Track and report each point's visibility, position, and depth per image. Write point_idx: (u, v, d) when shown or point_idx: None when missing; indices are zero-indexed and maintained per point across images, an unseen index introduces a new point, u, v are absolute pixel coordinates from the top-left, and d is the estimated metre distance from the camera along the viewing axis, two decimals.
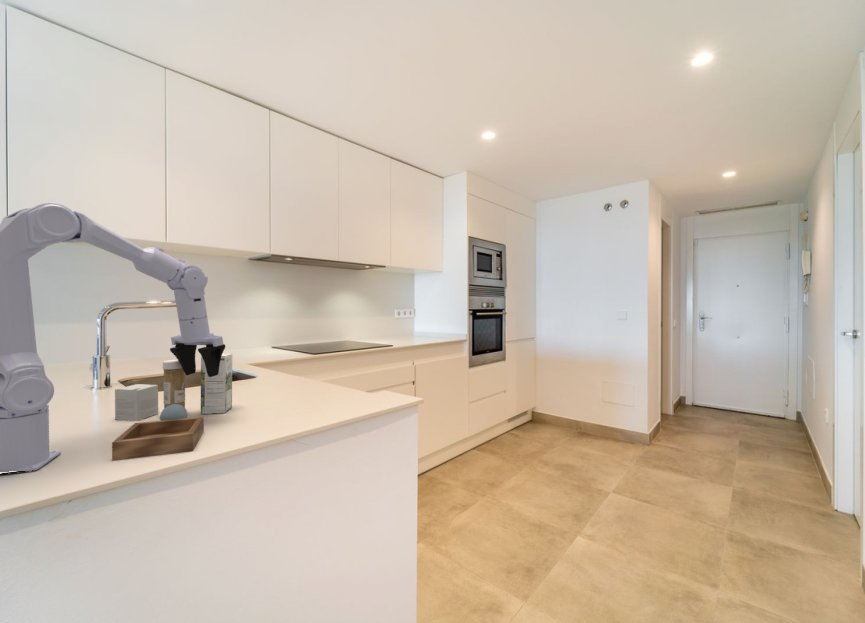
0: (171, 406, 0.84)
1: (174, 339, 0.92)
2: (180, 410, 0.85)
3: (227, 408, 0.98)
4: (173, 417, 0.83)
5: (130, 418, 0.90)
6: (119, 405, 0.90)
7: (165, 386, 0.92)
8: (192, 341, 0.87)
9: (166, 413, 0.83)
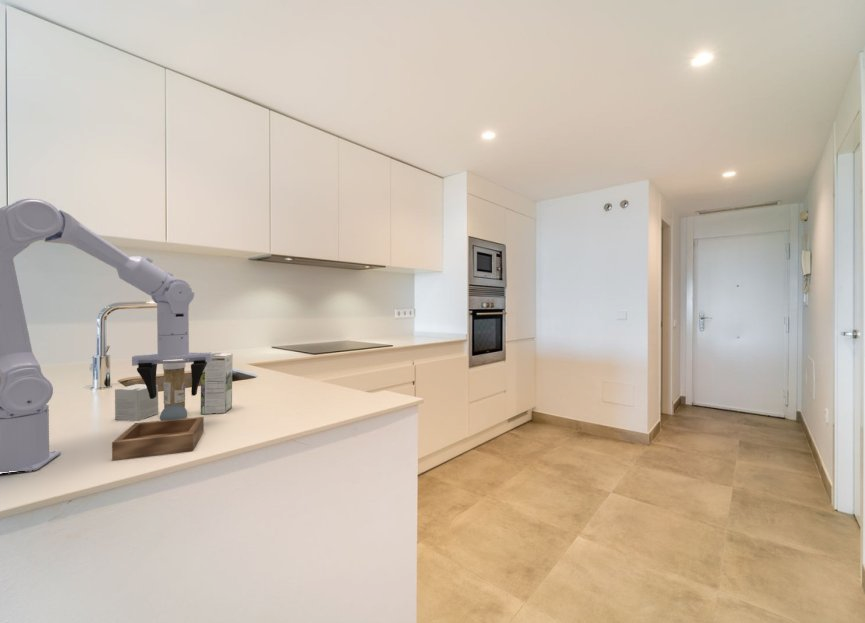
0: (171, 406, 0.84)
1: (140, 358, 0.82)
2: (180, 410, 0.85)
3: (227, 408, 0.98)
4: (173, 417, 0.83)
5: (130, 418, 0.90)
6: (119, 405, 0.90)
7: (165, 386, 0.92)
8: (181, 357, 0.84)
9: (166, 413, 0.83)
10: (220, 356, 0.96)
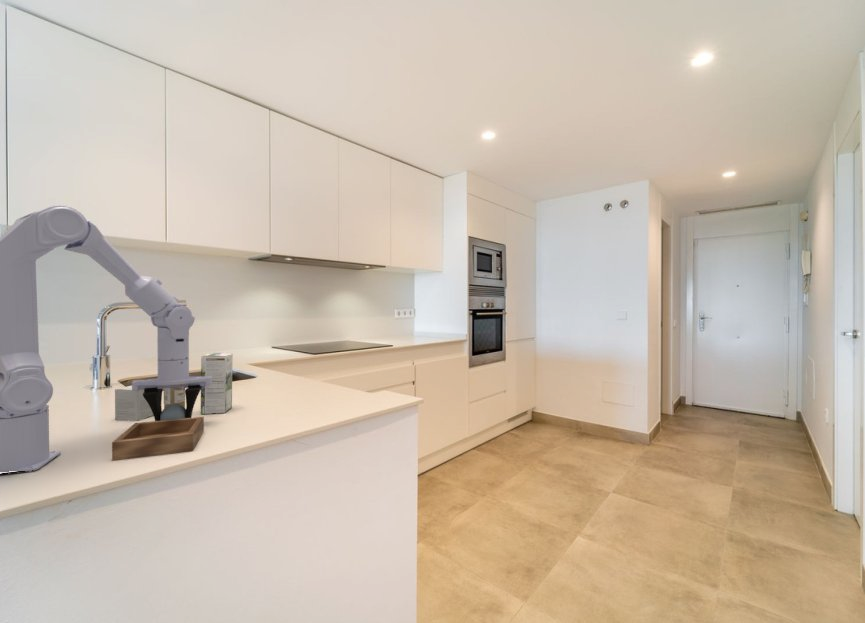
0: (171, 406, 0.84)
1: (140, 384, 0.82)
2: (180, 410, 0.85)
3: (227, 408, 0.98)
4: (173, 417, 0.83)
5: (130, 418, 0.90)
6: (119, 405, 0.90)
7: None
8: (181, 382, 0.84)
9: (166, 413, 0.83)
10: (220, 356, 0.96)
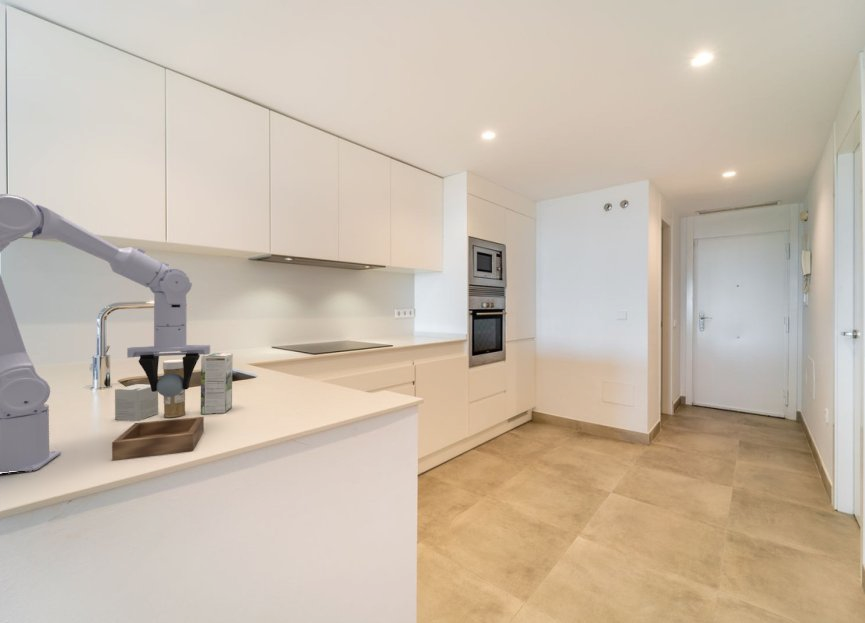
0: (168, 374, 0.82)
1: (135, 350, 0.79)
2: (177, 379, 0.82)
3: (227, 408, 0.98)
4: (170, 385, 0.81)
5: (130, 418, 0.90)
6: (119, 405, 0.90)
7: None
8: (179, 349, 0.81)
9: (162, 381, 0.80)
10: (220, 356, 0.96)
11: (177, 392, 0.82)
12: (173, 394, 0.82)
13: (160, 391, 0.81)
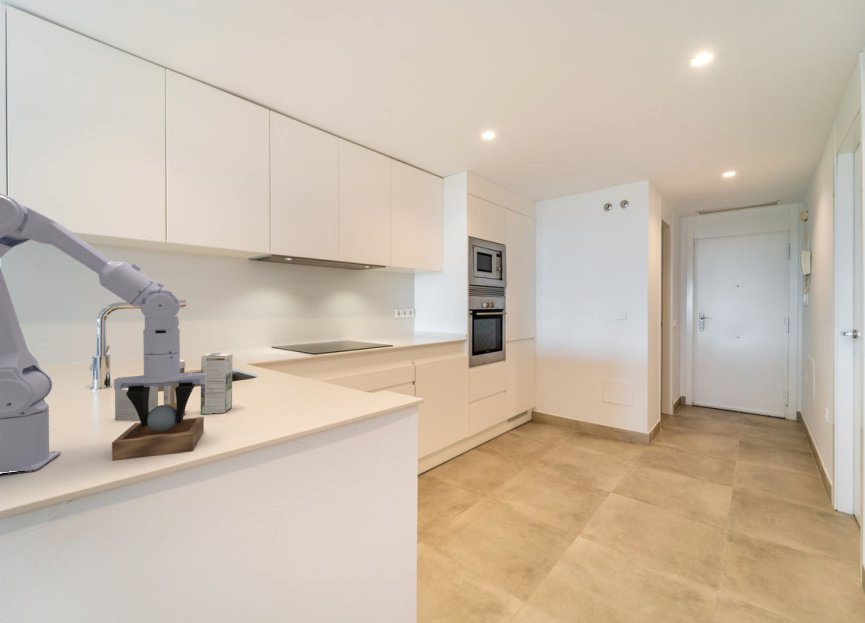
0: (159, 407, 0.74)
1: (123, 381, 0.71)
2: (170, 412, 0.74)
3: (227, 408, 0.98)
4: (162, 419, 0.73)
5: (130, 418, 0.90)
6: (119, 405, 0.90)
7: (165, 386, 0.92)
8: (171, 379, 0.73)
9: (153, 415, 0.73)
10: (220, 356, 0.96)
11: (170, 426, 0.74)
12: (165, 429, 0.74)
13: (151, 426, 0.73)
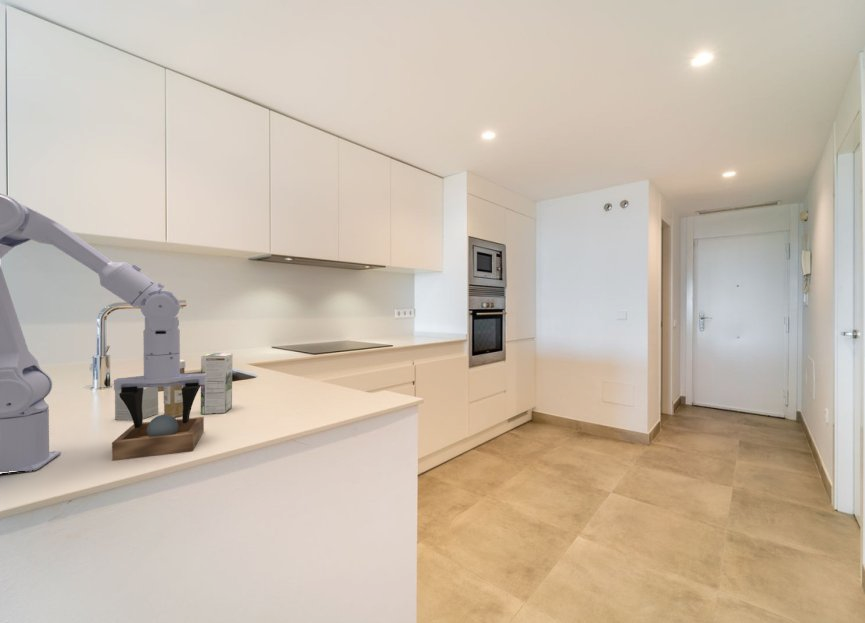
0: (159, 417, 0.74)
1: (123, 382, 0.71)
2: (170, 422, 0.74)
3: (227, 408, 0.98)
4: (162, 429, 0.73)
5: (130, 418, 0.90)
6: (119, 405, 0.90)
7: (165, 386, 0.92)
8: (171, 380, 0.73)
9: (153, 426, 0.73)
10: (220, 356, 0.96)
11: None
12: None
13: (151, 436, 0.73)
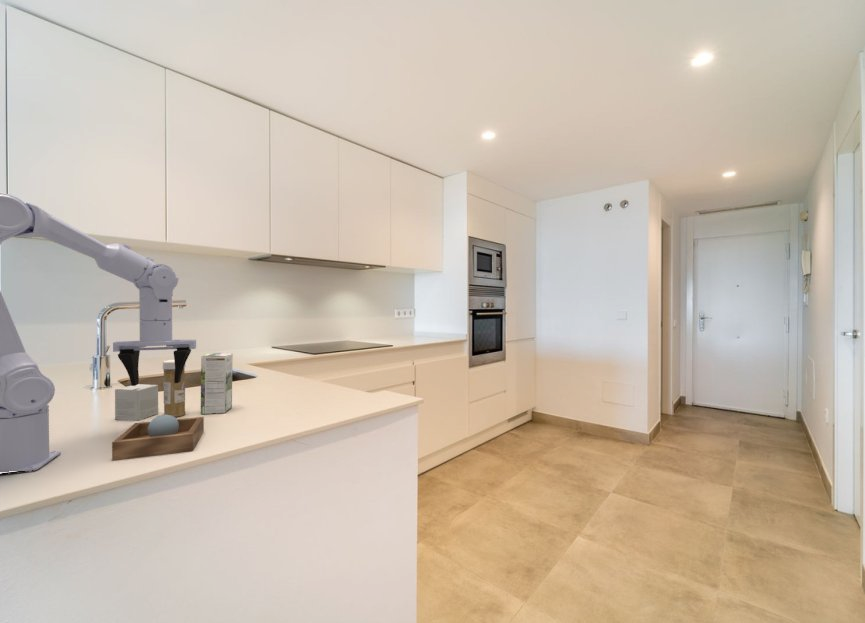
0: (161, 417, 0.74)
1: (121, 344, 0.80)
2: (171, 422, 0.74)
3: (227, 408, 0.98)
4: (163, 429, 0.73)
5: (130, 418, 0.90)
6: (119, 405, 0.90)
7: (165, 386, 0.92)
8: (164, 344, 0.82)
9: (154, 425, 0.73)
10: (220, 356, 0.96)
11: None
12: None
13: (151, 436, 0.73)
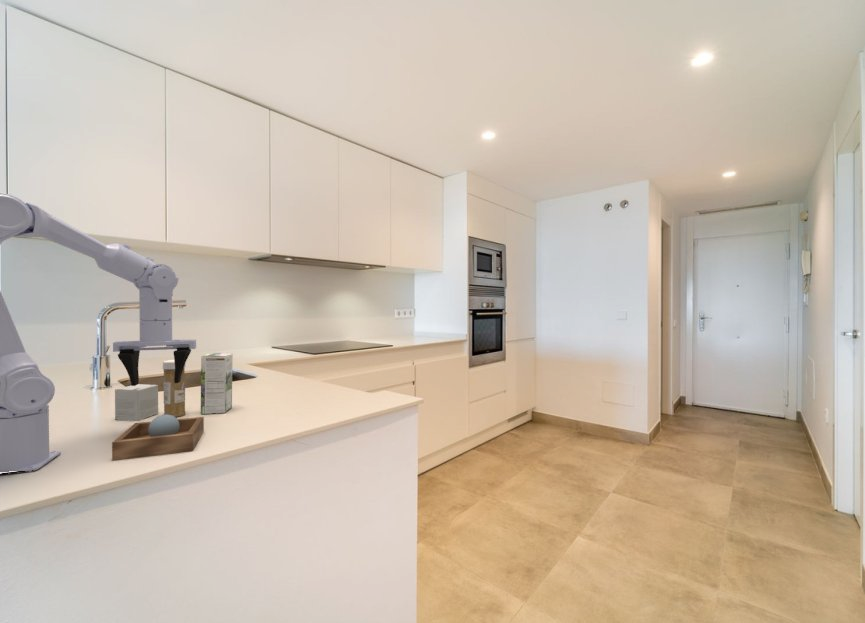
0: (162, 417, 0.74)
1: (121, 344, 0.80)
2: (172, 422, 0.74)
3: (227, 408, 0.98)
4: (164, 429, 0.73)
5: (130, 418, 0.90)
6: (119, 405, 0.90)
7: (165, 386, 0.92)
8: (164, 344, 0.82)
9: (155, 425, 0.73)
10: (220, 356, 0.96)
11: None
12: None
13: (152, 435, 0.73)
